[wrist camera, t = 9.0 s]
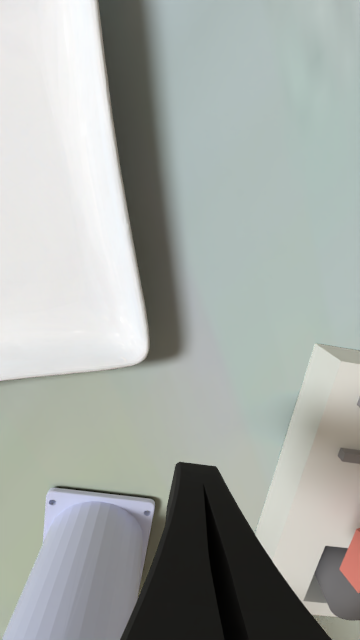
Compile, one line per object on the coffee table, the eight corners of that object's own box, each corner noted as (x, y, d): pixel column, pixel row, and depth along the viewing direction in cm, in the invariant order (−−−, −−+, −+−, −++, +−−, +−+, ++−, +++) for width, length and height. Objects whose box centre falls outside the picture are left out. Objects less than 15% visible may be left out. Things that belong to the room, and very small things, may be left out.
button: (350, 571, 23) (379, 622, 20) (299, 566, 23) (319, 617, 20) (369, 530, 22) (402, 577, 19) (315, 524, 22) (339, 571, 18)
